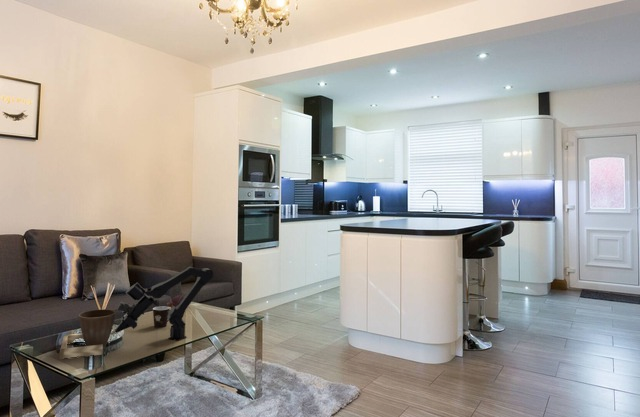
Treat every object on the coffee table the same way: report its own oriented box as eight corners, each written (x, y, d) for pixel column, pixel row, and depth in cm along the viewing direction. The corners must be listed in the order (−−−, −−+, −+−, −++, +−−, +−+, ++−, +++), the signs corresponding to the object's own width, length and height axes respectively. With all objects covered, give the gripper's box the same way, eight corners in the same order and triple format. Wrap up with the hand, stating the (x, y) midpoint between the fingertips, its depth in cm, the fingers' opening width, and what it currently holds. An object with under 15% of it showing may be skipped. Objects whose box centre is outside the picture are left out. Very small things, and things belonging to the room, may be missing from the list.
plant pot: (92, 355, 177) (94, 319, 177) (69, 349, 183) (71, 314, 183) (121, 345, 191) (122, 311, 191) (99, 340, 197) (100, 307, 197)
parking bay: (102, 339, 198) (102, 331, 198) (102, 354, 179) (102, 345, 179) (64, 343, 190) (64, 335, 191) (59, 359, 171) (60, 350, 171)
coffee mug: (148, 326, 222) (149, 308, 222) (161, 323, 230) (162, 305, 230) (163, 330, 217) (164, 311, 217) (175, 326, 224) (176, 308, 224)
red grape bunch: (183, 306, 270) (184, 291, 270) (194, 308, 266) (195, 293, 266) (162, 312, 254) (163, 296, 254) (174, 314, 250) (175, 298, 250)
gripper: (127, 292, 202) (102, 316, 196) (130, 299, 185) (102, 326, 180) (144, 306, 205) (119, 330, 200) (148, 315, 189) (121, 341, 184)
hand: (115, 332), depth 191 cm, fingers closed
